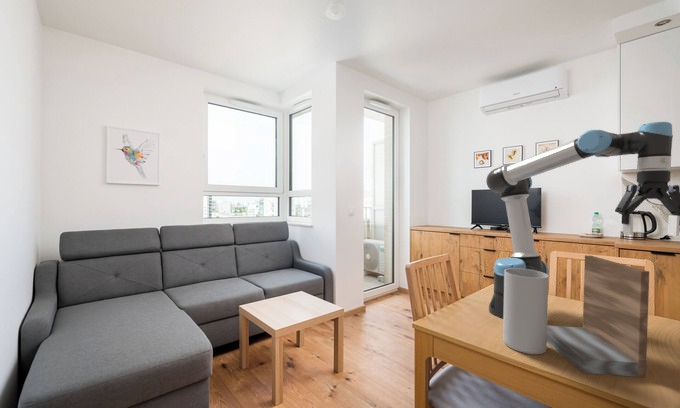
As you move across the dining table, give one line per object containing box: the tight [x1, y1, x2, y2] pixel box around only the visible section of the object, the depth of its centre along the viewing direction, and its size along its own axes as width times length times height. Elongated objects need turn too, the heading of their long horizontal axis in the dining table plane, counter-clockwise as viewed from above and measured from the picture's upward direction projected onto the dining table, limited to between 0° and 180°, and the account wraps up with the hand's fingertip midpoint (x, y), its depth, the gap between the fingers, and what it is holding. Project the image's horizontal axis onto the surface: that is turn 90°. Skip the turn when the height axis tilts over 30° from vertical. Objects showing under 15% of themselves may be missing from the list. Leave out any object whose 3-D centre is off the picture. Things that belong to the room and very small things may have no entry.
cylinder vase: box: [502, 268, 549, 355], centre depth 98 cm, size 12×12×25 cm
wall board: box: [547, 254, 650, 378], centre depth 93 cm, size 16×22×30 cm
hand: (650, 234), depth 96 cm, fingers open, 13 cm apart
